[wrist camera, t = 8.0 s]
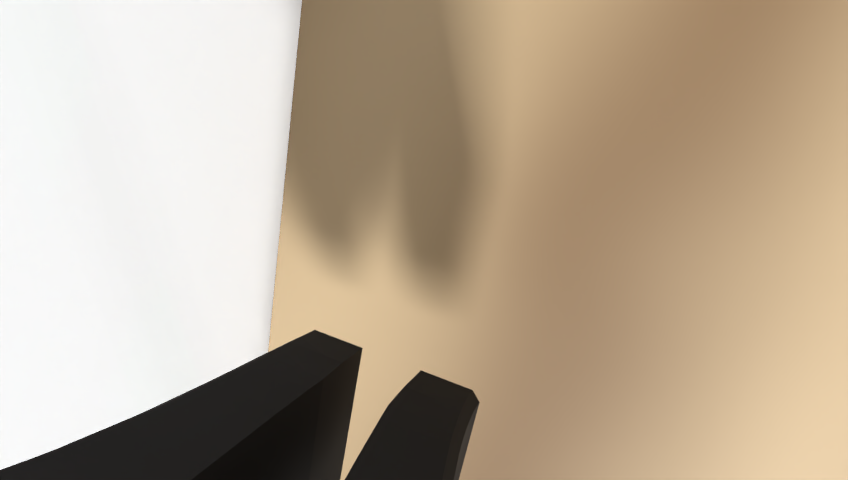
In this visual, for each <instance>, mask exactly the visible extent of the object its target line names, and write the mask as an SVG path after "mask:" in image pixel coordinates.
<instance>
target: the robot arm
mask: <svg viewBox="0 0 848 480" xmlns="http://www.w3.org/2000/svg"><path fill="white" fill-rule="evenodd" d="M362 349H363V348H361V347H359V346H356V345H354V344H351V343H348V342H346V341H343V340H340V339H338V338H335V337H333V336H330V335H327V334H325V333H322V332H319V331H317V330H313V331H311V332H309V333H307V334H305V335H303V336H301V337H299V338H296V339H294V340H292V341H290V342H288V343H286V344H284V345H282V346H280V347H278V348H276V349H274V350H272V351H270V352H268V353H266V354H264V355H262V356H260V357H258V358H256V359H254V360H252V361H250V362H248V363H246V364H244V365H242V366H240V367H238V368H236V369H234V370H232V371H230V372H227V373H225V374H223V375H221V376H219V377H217V378H215V379H213V380H211V381H209V382H207V383H205V384H203V385H201V386H199V387H197V388H194V389H192V390H190V391H188V392H186V393H184V394H182V395H180V396H177V397H175V398H173V399H171V400H169V401H167V402H165V403H163V404H160V405H158V406H156V407H154V408H152V409H150V410H148V411H145V412H143V413H141V414H139V415H136V416H134V417H132V418H130V419H127V420H125V421H122V422H120V423H118V424H115V425H113V426H111V427H108V428H106V429H103V430H101V431H99V432H96V433H94V434H92V435H89V436H87V437H84V438H82V439H80V440H77V441H75V442H72V443H70V444H68V445H65V446H63V447H61V448H58V449H56V450H53V451H51V452H48V453H45V454H43V455H40V456H37V457H35V458H32V459H30V460H27V461H24V462H21V463H18V464H16V465H13V466H10V467H7V468H5V469H2V470H0V480H340V478H341V472H342V466H343V461H344V455H345V449H346V443H347V437H348V431H349V425H350V419H351V413H352V408H353V402H354V396H355V390H356V384H357V378H358V372H359V366H360V360H361V355H362ZM479 403H480V402H479V400H478V399H477V397H476V395H475V393H474V392H473V390H471V389H469V388H466V387H463V386H461V385H458V384H456V383H453V382H450V381H448V380H445V379H443V378H440V377H437V376H435V375H432V374H429V373H427V372H424V371H422V370H421V371H420V372H419V373H418V374H417V375H416V376H415V377H414V378H413V379H411V380H410V381H409V382H408V383H407V384H406V385H405V386H404V388H403V389H402V390H401V391H400V392H399V393H398V394H397V395H396V397H395V398H394V399H393V400H392V401H391V402H390V403H389V405H388V406H387V408H386V409H385V411H384V413H383V414H382V416H381V418H380V419H379V421H378V423H377V425H376V426H375V428H374V430H373V431H372V433H371V435H370V437H369V438H368V440H367V442H366V443H365V445H364V447H363V448H362V450H361V452H360V454H359V455H358V457H357V459H356V461H355V462H354V464H353V466H352V468H351V469H350V471H349V473H348V475H347V476H346V478H345V480H459V477H460V473H461V470H462V466H463V462H464V458H465V455H466V451H467V447H468V444H469V440H470V436H471V432H472V429H473V425H474V421H475V418H476V414H477V410H478V406H479Z"/></svg>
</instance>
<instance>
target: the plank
mask: <svg viewBox="0 0 848 480" xmlns="http://www.w3.org/2000/svg"><path fill="white" fill-rule="evenodd" d="M313 330H317V331H319V332H322V333H325V334H327V335H330V336H333V337H335V338H338V339H340V340H343V341H346V342H348V343H351V344H354V345H356V346H359V347H361V348H363V349H362V355H361V360H360V366H359V372H358V378H357V384H356V390H355V396H354V402H353V408H352V413H351V419H350V425H349V431H348V437H347V443H346V449H345V455H344V461H343V466H342V472H341V478H340V480H345V478H346V476H347V475H348V473H349V471H350V469H351V468H352V466H353V464H354V462H355V461H356V459H357V457H358V455H359V454H360V452H361V450H362V448H363V447H364V445H365V443H366V442H367V440H368V438H369V437H370V435H371V433H372V431H373V430H374V428H375V426H376V425H377V423H378V421H379V419H380V418H381V416H382V414H383V413H384V411H385V409H386V408H387V406H388V405H389V403H390V402H391V401H392V400H393V399H394V398H395V397H396V395H397V394H398V393H399V392H400V391H401V390H402V389H403V388H404V386H405V385H406V384H407V383H408V382H409V381H410V380H411V379H413V378H414V377H415V376H416V375H417V374H418V373H419V372H420V371H421V370H422V371H424V372H427V373H429V374H432V375H435V376H437V377H440V378H443V379H445V380H448V381H450V382H453V383H456V384H458V385H461V386H463V387H466V388H469V389H471V390H473V392H474V393H475V395H476V397H477V399H478V400H479V402H480V403H479V406H478V410H477V414H476V418H475V421H474V425H473V429H472V432H471V436H470V440H469V444H468V447H467V451H466V455H465V458H464V462H463V466H462V470H461V473H460V477H459V480H848V0H302V8H301V18H300V29H299V39H298V49H297V60H296V70H295V80H294V91H293V101H292V112H291V122H290V132H289V143H288V153H287V163H286V174H285V184H284V194H283V205H282V215H281V225H280V236H279V246H278V256H277V267H276V277H275V287H274V298H273V308H272V319H271V329H270V339H269V350H268V352H270V351H272V350H274V349H276V348H278V347H280V346H282V345H284V344H286V343H288V342H290V341H292V340H294V339H296V338H299V337H301V336H303V335H305V334H307V333H309V332H311V331H313Z"/></svg>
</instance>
